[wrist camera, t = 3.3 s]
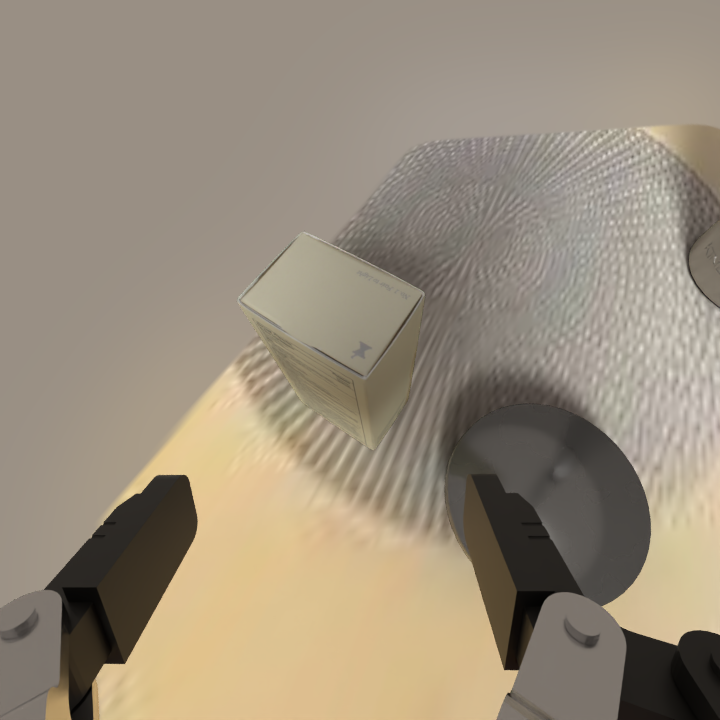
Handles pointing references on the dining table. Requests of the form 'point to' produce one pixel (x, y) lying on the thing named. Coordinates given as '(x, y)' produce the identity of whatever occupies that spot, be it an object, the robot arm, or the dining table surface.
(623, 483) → the dark gray bowl
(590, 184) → the dining table surface
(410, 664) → the dining table surface
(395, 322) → the skincare box
